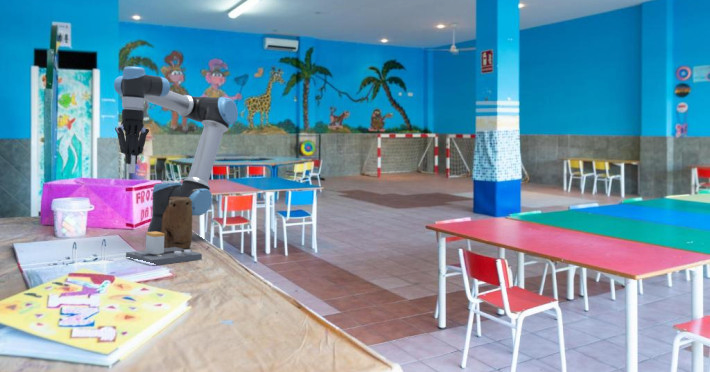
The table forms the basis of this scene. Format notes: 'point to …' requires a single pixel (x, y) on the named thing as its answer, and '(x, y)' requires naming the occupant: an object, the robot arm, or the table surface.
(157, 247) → the fader tab
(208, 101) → the robot arm
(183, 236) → the brown rounded upright piece
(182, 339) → the table surface
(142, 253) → the console board
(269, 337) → the table surface
